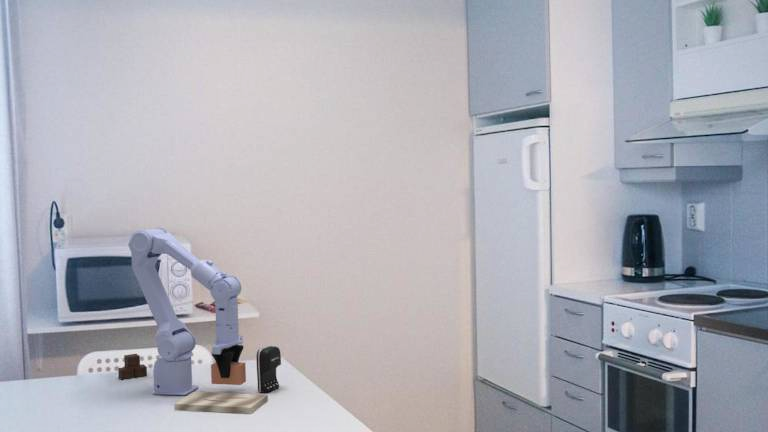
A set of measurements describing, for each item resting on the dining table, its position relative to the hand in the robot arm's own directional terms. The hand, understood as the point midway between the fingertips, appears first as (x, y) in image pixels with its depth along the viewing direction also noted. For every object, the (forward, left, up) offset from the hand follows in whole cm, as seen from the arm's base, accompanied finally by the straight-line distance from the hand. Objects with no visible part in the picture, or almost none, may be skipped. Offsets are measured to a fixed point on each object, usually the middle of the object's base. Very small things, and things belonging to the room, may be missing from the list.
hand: (228, 375), depth 206 cm
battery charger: (+9, +6, -5) cm, 12 cm away
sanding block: (0, 0, -2) cm, 2 cm away
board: (+2, -9, -5) cm, 11 cm away
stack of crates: (-37, +14, -6) cm, 40 cm away
